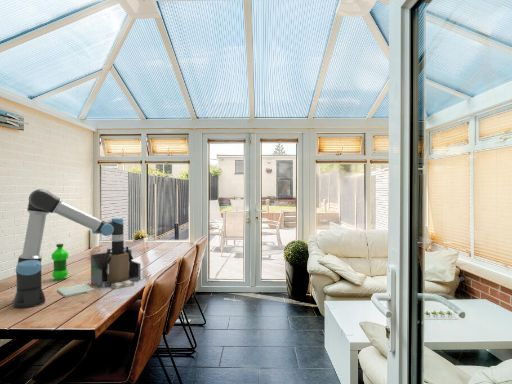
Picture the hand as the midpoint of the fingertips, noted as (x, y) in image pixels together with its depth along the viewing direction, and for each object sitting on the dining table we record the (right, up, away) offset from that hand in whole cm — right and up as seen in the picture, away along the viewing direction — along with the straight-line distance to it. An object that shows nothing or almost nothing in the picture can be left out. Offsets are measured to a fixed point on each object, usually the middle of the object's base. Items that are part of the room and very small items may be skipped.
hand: (118, 271), depth 229 cm
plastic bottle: (-47, -8, +12) cm, 49 cm away
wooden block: (0, -8, 0) cm, 8 cm away
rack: (-1, -8, +1) cm, 8 cm away
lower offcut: (+7, -8, -10) cm, 15 cm away
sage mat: (-19, -8, -17) cm, 27 cm away
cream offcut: (+7, -7, -10) cm, 14 cm away
